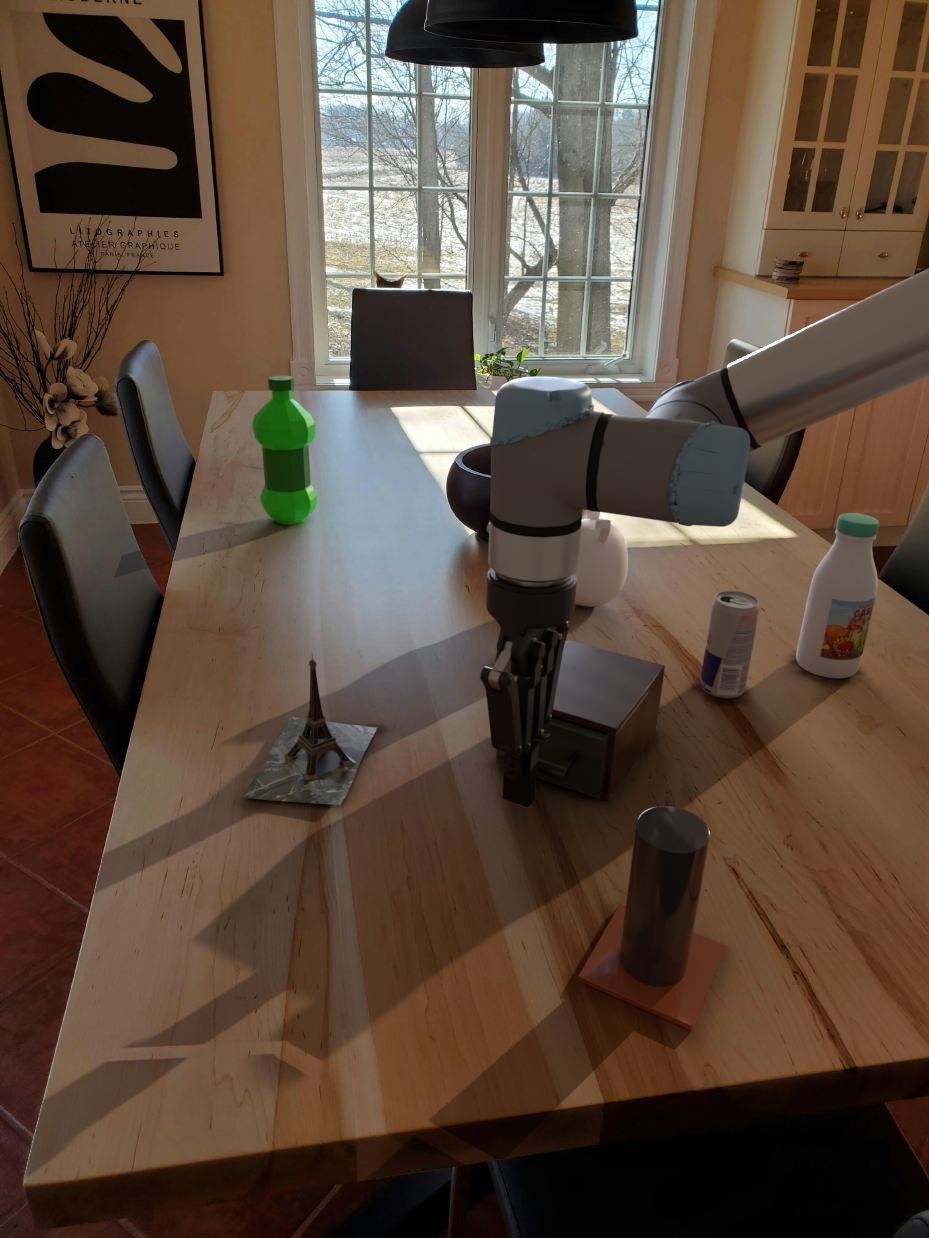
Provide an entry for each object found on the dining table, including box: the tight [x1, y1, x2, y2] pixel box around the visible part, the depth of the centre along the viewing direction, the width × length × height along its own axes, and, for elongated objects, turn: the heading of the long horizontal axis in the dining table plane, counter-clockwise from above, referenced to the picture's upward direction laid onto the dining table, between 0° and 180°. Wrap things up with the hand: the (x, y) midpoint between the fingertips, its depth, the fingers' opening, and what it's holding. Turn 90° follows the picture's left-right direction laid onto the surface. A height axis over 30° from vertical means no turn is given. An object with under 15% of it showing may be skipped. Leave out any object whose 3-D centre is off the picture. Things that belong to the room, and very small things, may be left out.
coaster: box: [577, 903, 727, 1032], centre depth 71 cm, size 9×9×1 cm
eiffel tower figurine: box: [242, 654, 378, 806], centre depth 91 cm, size 15×10×13 cm
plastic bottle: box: [251, 374, 318, 525], centre depth 156 cm, size 10×10×25 cm
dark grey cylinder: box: [620, 805, 711, 986], centre depth 68 cm, size 5×5×13 cm
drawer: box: [495, 716, 609, 799], centre depth 93 cm, size 18×11×7 cm, turn 150°
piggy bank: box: [575, 510, 629, 607], centre depth 128 cm, size 12×12×15 cm
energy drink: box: [699, 590, 761, 699], centre depth 107 cm, size 5×5×12 cm
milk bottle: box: [795, 512, 880, 679], centre depth 111 cm, size 8×8×20 cm
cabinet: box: [552, 639, 666, 802], centre depth 96 cm, size 15×13×9 cm
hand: (518, 799), depth 85 cm, fingers closed
